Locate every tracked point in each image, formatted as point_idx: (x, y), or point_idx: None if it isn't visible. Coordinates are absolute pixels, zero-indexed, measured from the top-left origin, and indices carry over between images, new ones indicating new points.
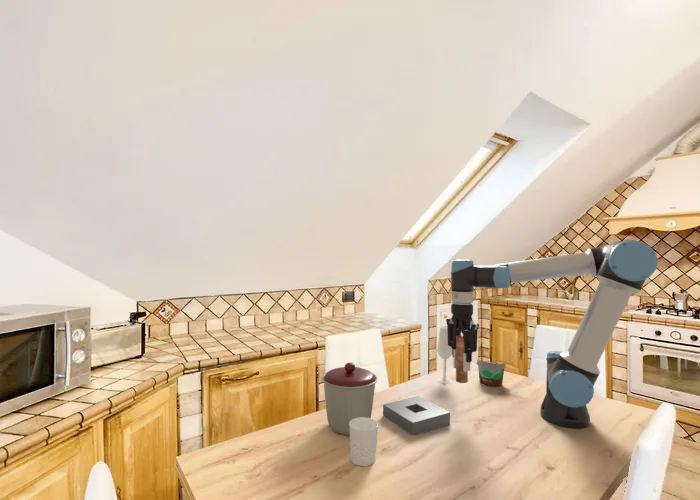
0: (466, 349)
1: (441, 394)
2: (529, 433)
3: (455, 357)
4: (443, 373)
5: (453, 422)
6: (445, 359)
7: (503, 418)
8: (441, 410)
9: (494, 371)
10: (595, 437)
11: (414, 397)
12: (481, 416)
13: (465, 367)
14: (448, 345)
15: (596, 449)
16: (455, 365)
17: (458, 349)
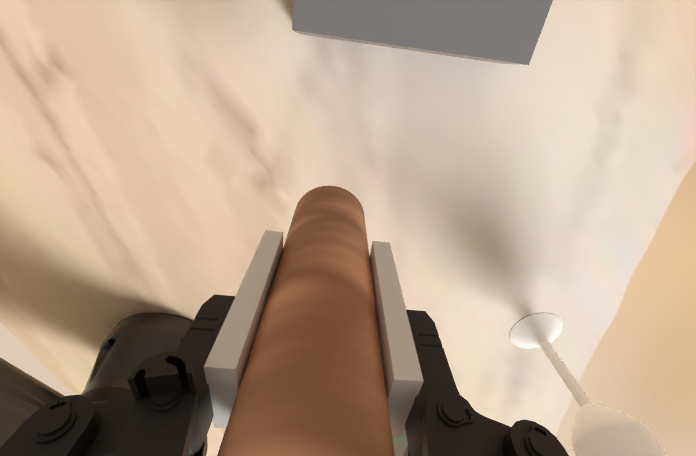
0: (152, 429)
1: (488, 242)
2: (128, 217)
3: (381, 308)
4: (555, 351)
5: (305, 66)
6: (583, 405)
7: (240, 244)
8: (333, 8)
9: (404, 433)
10: (63, 318)
11: (537, 26)
12: (286, 202)
13: (257, 255)
14: (537, 426)
15: (2, 268)
16: (374, 258)
17: (301, 388)
